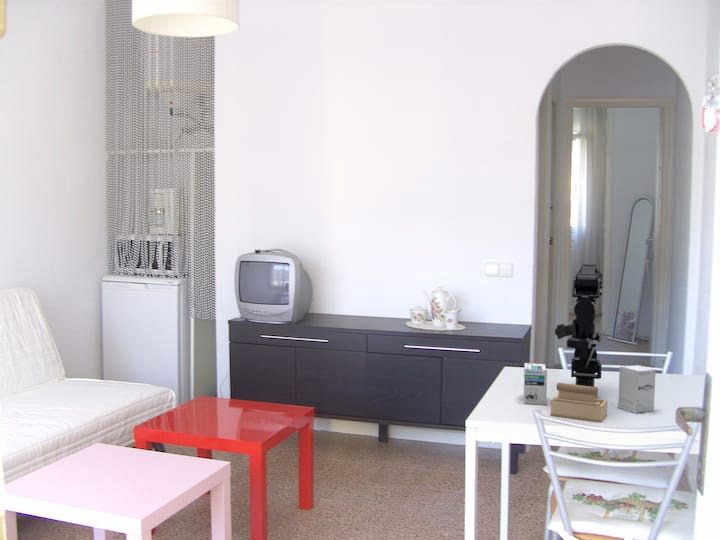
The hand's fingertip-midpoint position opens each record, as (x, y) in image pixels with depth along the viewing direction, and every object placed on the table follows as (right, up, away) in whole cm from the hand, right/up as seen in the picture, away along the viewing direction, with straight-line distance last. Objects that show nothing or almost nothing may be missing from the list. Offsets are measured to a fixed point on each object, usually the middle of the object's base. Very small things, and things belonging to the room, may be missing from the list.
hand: (583, 368), depth 225 cm
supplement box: (+16, -13, 0) cm, 20 cm away
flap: (-5, -8, -11) cm, 14 cm away
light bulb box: (-12, -12, +10) cm, 20 cm away
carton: (-4, -13, -8) cm, 15 cm away
